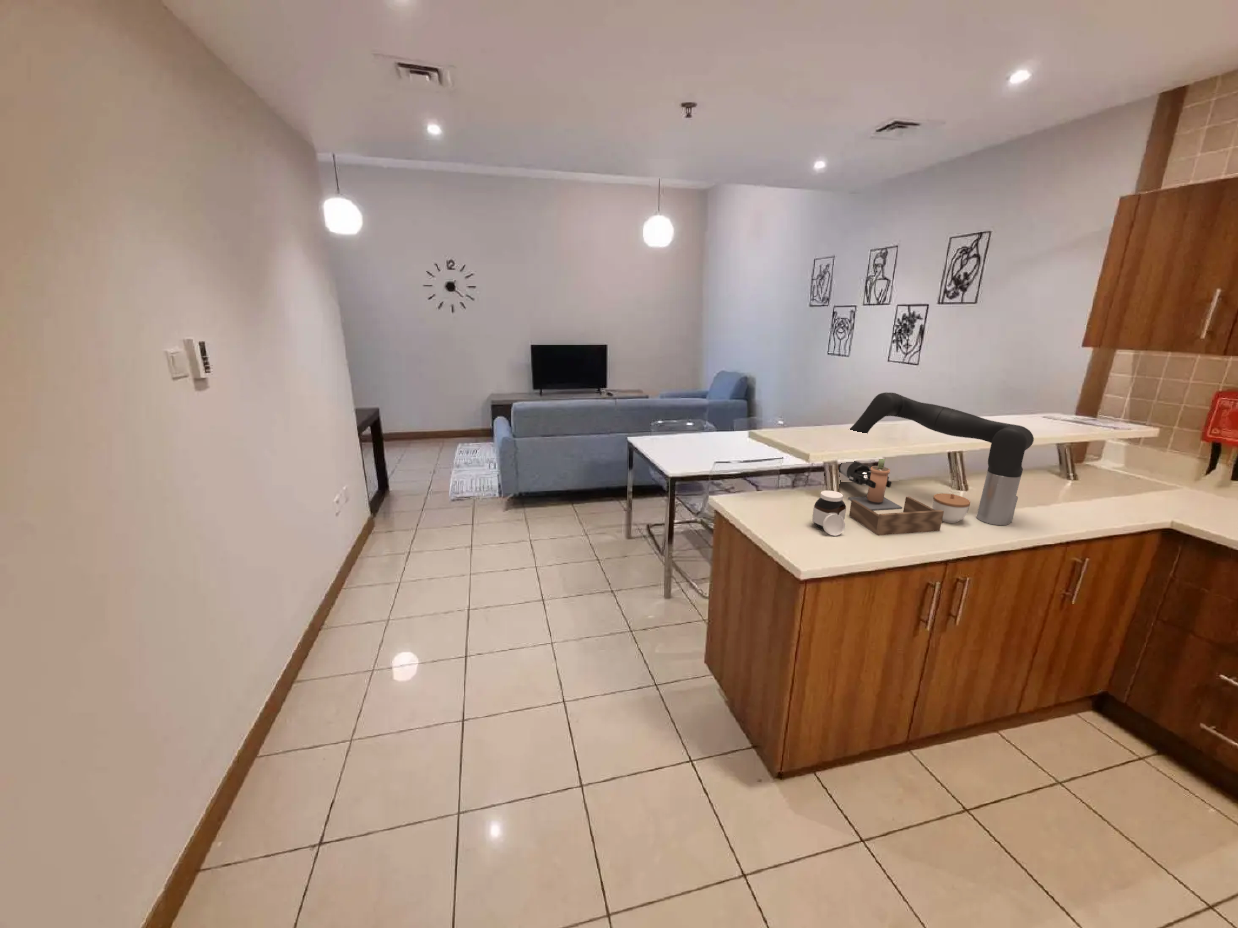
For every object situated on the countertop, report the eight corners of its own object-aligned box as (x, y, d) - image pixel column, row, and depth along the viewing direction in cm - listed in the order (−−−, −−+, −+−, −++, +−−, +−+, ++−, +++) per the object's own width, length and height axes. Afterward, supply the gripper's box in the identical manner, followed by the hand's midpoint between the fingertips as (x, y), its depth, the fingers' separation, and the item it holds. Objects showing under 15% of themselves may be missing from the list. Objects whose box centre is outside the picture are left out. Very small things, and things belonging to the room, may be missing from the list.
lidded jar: (932, 510, 181) (937, 486, 178) (967, 518, 175) (973, 493, 172) (926, 520, 173) (932, 495, 170) (963, 528, 167) (969, 502, 164)
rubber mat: (880, 496, 194) (881, 495, 194) (902, 508, 183) (902, 507, 183) (847, 498, 192) (848, 497, 192) (867, 510, 181) (867, 509, 181)
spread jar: (828, 519, 174) (832, 488, 170) (856, 531, 164) (861, 498, 161) (803, 526, 168) (807, 493, 165) (831, 539, 159) (836, 505, 155)
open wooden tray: (905, 512, 180) (909, 493, 178) (939, 530, 165) (944, 511, 163) (849, 515, 177) (851, 497, 175) (878, 535, 162) (881, 515, 159)
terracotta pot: (877, 495, 191) (884, 453, 185) (888, 502, 185) (896, 458, 179) (862, 496, 190) (869, 453, 184) (872, 503, 184) (880, 458, 178)
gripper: (839, 462, 196) (866, 476, 180) (872, 460, 198) (902, 474, 183) (836, 480, 199) (863, 495, 183) (869, 478, 201) (898, 493, 185)
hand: (882, 485), depth 183 cm, fingers closed on terracotta pot, 5 cm apart
